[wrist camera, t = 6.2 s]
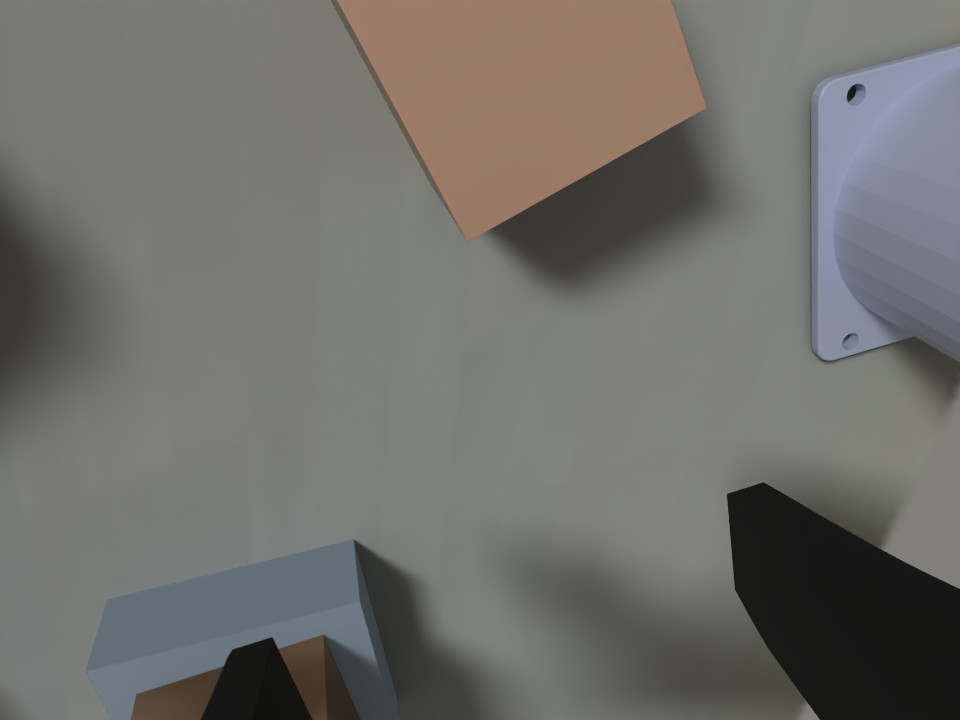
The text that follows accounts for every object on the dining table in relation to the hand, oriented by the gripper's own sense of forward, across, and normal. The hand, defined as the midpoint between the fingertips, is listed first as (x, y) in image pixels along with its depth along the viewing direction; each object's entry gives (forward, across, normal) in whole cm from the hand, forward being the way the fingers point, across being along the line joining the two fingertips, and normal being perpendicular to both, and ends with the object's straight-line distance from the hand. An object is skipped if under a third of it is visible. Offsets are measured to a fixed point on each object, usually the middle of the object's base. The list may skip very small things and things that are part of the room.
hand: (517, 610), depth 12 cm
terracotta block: (+10, -3, -7) cm, 13 cm away
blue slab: (+10, +7, +9) cm, 15 cm away
